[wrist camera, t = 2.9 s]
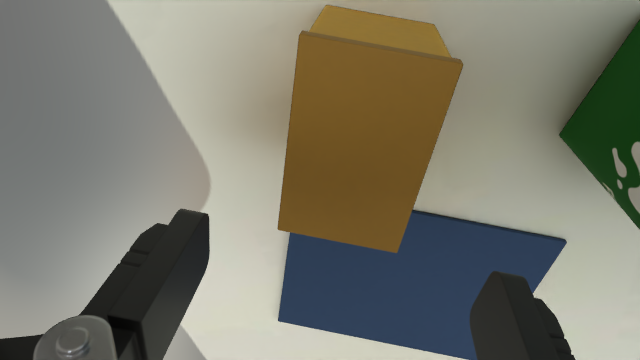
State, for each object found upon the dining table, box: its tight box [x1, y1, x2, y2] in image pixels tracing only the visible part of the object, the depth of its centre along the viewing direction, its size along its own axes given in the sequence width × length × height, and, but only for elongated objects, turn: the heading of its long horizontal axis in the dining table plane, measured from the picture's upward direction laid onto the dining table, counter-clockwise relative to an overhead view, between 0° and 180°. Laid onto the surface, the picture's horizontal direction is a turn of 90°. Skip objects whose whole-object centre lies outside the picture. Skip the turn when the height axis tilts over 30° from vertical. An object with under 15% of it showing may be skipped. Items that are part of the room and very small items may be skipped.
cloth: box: [278, 210, 567, 360], centre depth 30 cm, size 18×14×1 cm
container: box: [278, 5, 463, 253], centre depth 19 cm, size 6×9×7 cm, turn 172°
